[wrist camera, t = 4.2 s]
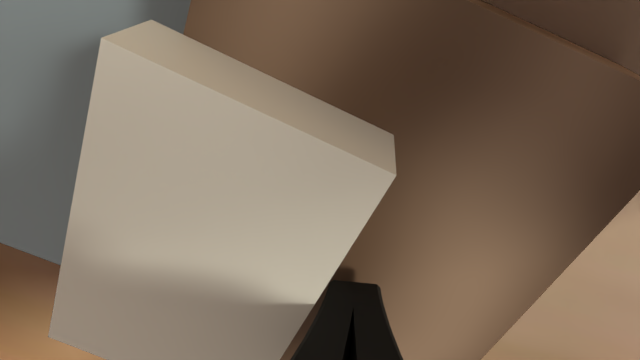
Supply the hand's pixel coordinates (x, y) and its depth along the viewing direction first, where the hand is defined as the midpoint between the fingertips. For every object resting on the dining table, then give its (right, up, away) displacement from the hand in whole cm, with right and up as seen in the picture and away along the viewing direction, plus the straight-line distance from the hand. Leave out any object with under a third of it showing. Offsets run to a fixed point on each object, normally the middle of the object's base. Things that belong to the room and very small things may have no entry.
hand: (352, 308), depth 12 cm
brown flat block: (0, +3, +4) cm, 5 cm away
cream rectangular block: (-4, +2, 0) cm, 4 cm away
